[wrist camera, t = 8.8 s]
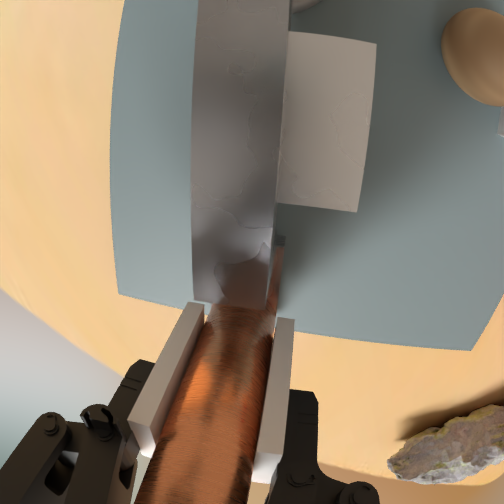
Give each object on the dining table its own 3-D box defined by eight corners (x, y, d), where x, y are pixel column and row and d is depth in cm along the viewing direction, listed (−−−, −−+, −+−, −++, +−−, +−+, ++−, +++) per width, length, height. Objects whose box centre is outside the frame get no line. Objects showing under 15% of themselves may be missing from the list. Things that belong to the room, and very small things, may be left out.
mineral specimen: (380, 456, 26) (384, 509, 20) (384, 425, 24) (391, 488, 18) (501, 422, 23) (516, 466, 17) (521, 384, 20) (543, 434, 14)
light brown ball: (428, 4, 9) (471, -22, 5) (501, 40, 9) (553, 33, 5) (420, 85, 11) (467, 82, 7) (494, 116, 11) (548, 128, 7)
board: (158, -85, 9) (117, -123, 4) (548, 13, 7) (598, 6, 2) (126, 283, 20) (87, 333, 15) (465, 339, 18) (490, 392, 13)
